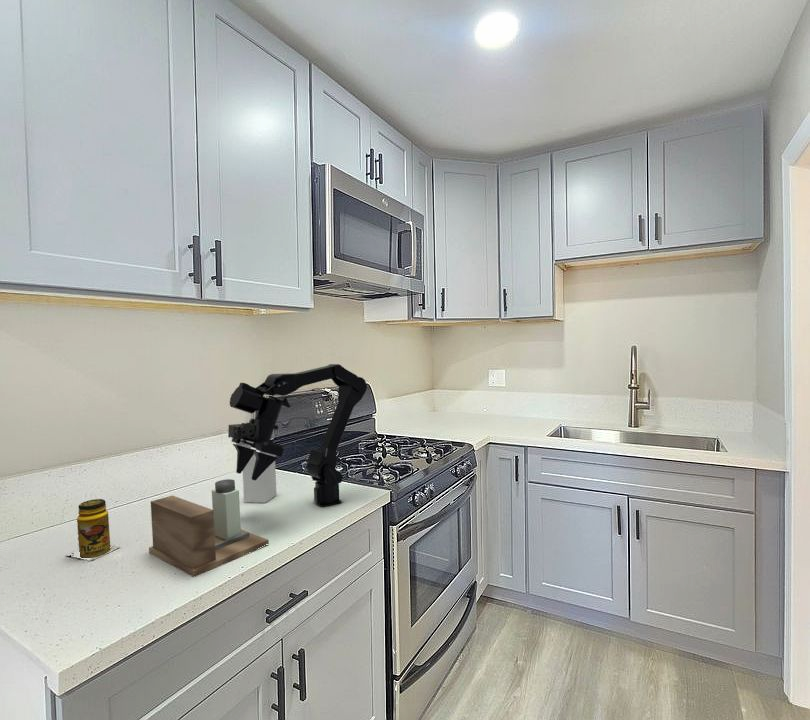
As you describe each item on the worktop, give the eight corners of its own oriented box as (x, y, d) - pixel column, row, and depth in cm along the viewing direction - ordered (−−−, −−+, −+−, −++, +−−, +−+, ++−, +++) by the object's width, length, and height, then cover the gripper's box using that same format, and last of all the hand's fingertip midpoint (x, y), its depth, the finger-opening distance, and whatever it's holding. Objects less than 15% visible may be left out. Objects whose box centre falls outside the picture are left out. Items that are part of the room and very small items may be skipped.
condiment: (90, 561, 105) (87, 508, 104) (65, 556, 108) (61, 505, 108) (120, 548, 112) (117, 498, 111) (96, 543, 115) (93, 494, 114)
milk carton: (265, 503, 140) (262, 440, 139) (243, 502, 141) (241, 439, 140) (276, 495, 147) (274, 435, 146) (255, 494, 148) (253, 435, 147)
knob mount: (221, 526, 123) (219, 481, 123) (268, 544, 111) (266, 494, 110) (149, 552, 109) (146, 501, 108) (193, 576, 96) (190, 519, 96)
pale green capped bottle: (228, 529, 117) (226, 477, 116) (242, 535, 113) (240, 481, 113) (212, 535, 113) (209, 482, 113) (226, 541, 110) (223, 486, 109)
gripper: (224, 406, 127) (202, 463, 124) (255, 413, 114) (231, 477, 110) (260, 418, 134) (241, 472, 131) (293, 425, 121) (272, 486, 117)
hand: (245, 476), depth 122 cm, fingers open, 9 cm apart
